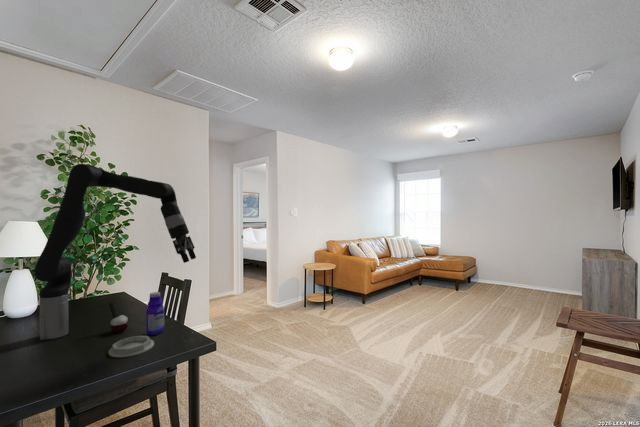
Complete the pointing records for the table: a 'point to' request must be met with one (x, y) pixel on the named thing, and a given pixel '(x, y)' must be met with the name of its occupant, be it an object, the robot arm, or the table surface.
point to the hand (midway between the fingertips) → (190, 260)
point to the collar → (131, 346)
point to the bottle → (155, 314)
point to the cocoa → (118, 321)
